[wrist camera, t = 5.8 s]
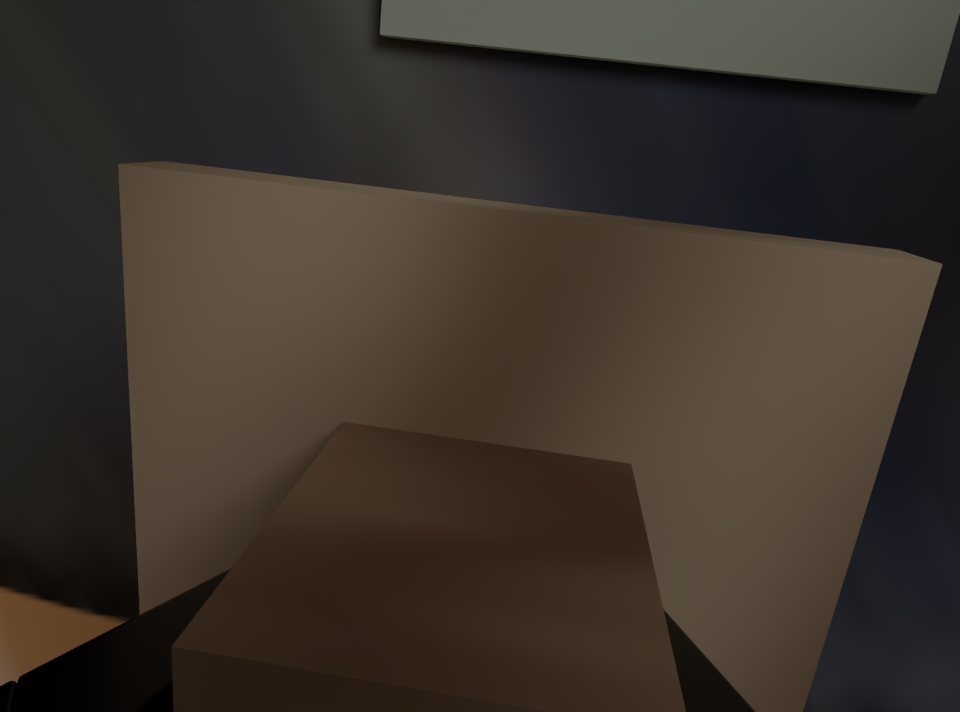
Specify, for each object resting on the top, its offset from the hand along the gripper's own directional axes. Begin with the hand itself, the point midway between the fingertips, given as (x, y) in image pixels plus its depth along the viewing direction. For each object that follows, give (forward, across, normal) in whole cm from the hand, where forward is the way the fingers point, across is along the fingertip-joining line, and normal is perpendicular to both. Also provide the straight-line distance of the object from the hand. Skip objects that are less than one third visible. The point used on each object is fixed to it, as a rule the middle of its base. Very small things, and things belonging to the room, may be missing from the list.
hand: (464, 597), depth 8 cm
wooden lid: (+2, 0, 0) cm, 2 cm away
